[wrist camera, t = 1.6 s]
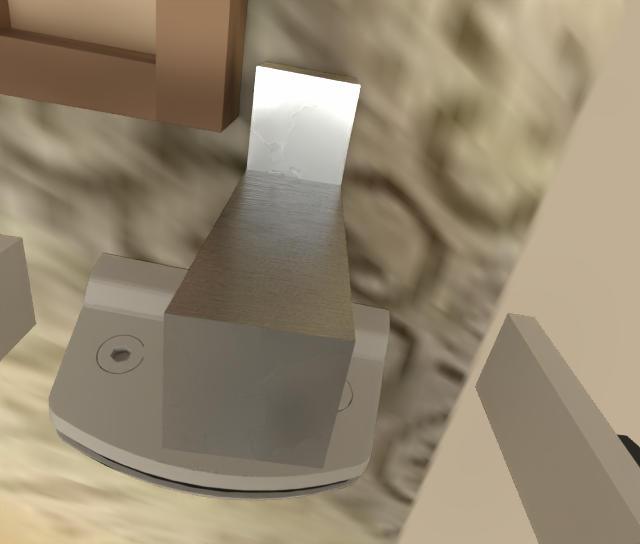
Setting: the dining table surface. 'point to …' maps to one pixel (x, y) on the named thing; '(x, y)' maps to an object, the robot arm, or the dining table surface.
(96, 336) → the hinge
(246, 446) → the bracket
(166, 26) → the frame
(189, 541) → the dining table surface
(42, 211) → the dining table surface
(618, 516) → the robot arm
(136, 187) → the dining table surface
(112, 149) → the dining table surface
